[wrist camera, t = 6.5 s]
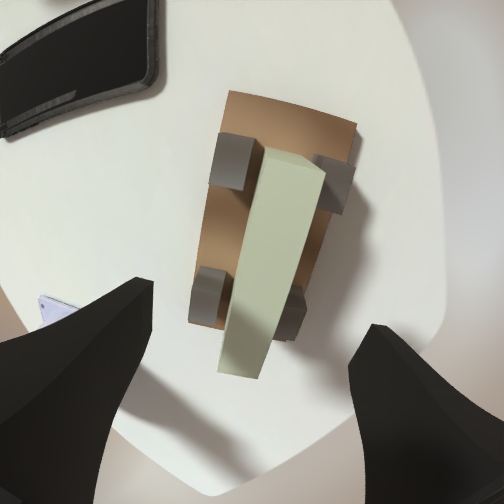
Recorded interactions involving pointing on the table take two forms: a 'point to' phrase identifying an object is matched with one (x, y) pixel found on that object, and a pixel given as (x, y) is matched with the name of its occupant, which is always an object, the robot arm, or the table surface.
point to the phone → (78, 61)
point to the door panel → (268, 258)
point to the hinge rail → (242, 191)
